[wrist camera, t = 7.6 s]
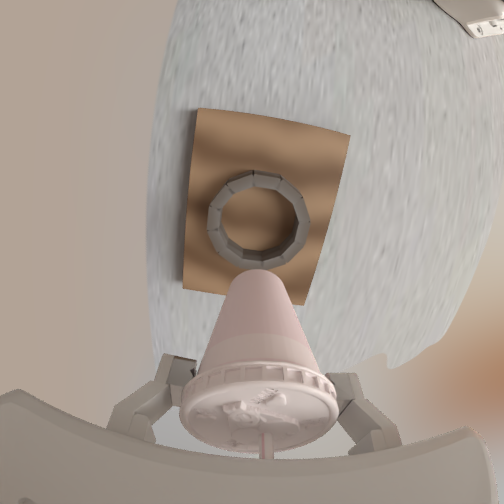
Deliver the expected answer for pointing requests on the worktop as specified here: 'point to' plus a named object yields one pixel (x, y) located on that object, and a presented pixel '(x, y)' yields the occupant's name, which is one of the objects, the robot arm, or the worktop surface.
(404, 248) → the worktop surface
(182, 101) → the worktop surface
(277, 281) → the smoothie
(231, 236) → the stand
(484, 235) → the worktop surface
